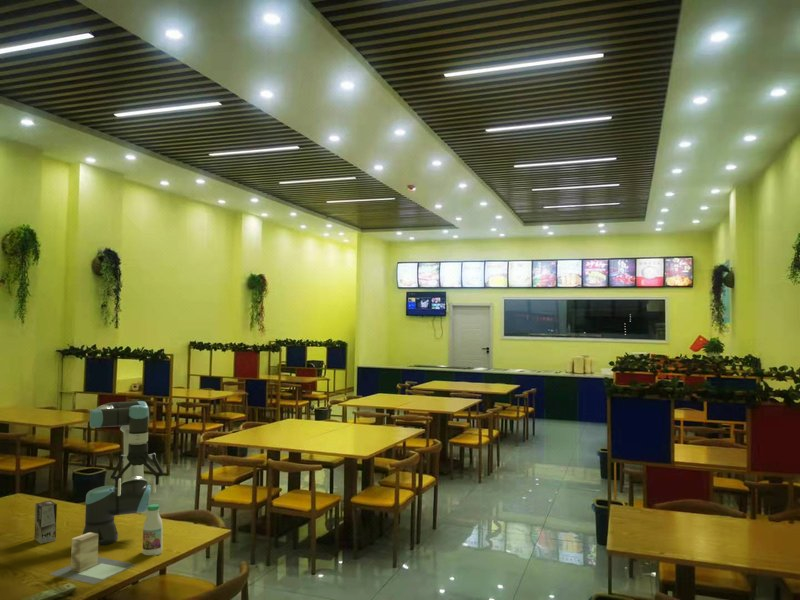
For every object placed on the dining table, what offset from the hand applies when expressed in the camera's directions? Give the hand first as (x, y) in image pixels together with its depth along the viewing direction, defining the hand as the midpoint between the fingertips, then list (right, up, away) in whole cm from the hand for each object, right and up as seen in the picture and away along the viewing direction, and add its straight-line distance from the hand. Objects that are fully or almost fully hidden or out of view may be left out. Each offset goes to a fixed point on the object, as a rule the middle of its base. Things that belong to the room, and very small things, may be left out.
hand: (137, 493), depth 249 cm
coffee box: (-49, -27, +18) cm, 59 cm away
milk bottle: (+6, -26, +2) cm, 27 cm away
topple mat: (-10, -25, -16) cm, 31 cm away
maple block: (-14, -24, -14) cm, 32 cm away
